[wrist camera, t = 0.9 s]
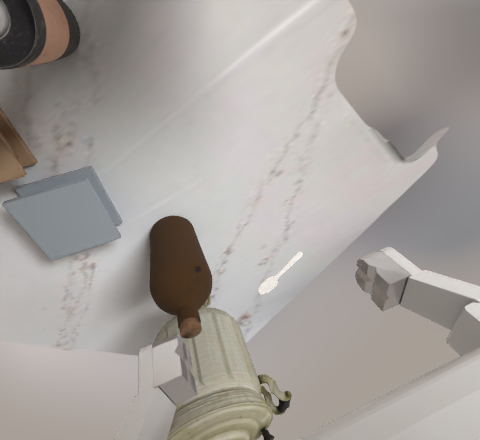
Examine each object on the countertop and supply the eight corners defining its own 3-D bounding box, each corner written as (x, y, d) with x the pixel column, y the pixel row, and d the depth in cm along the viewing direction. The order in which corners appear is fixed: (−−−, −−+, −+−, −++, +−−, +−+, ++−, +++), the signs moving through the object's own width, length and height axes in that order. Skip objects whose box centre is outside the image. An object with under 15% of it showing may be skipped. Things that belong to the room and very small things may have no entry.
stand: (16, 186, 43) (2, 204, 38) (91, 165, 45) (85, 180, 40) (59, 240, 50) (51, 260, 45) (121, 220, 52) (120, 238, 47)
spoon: (306, 254, 76) (307, 256, 76) (265, 295, 80) (265, 296, 80) (295, 248, 73) (296, 249, 73) (253, 290, 77) (254, 291, 77)
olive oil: (144, 215, 53) (148, 316, 33) (196, 210, 56) (228, 300, 36) (149, 255, 59) (156, 362, 39) (196, 248, 62) (224, 344, 42)
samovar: (115, 334, 69) (97, 579, 37) (135, 257, 58) (133, 514, 26) (218, 330, 82) (269, 507, 51) (250, 267, 71) (340, 444, 40)
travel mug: (93, 25, 35) (59, 9, 20) (65, 72, 37) (12, 93, 21) (28, -32, 31) (-83, -110, 15) (0, 25, 33) (-127, 8, 17)
